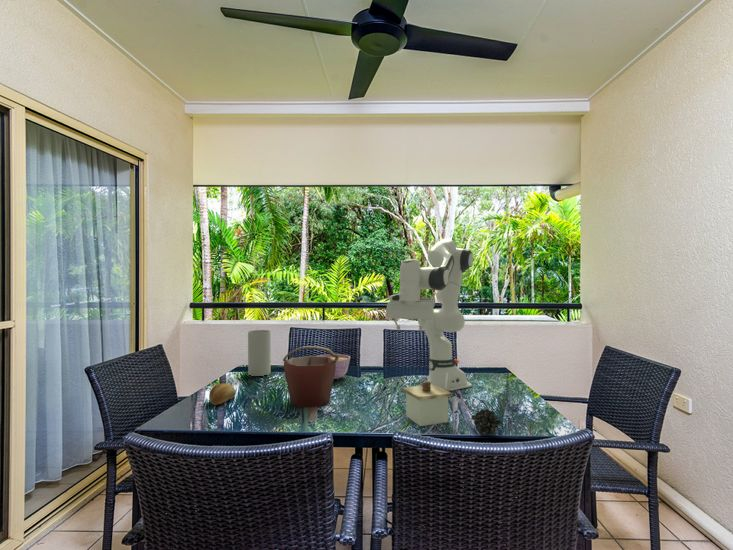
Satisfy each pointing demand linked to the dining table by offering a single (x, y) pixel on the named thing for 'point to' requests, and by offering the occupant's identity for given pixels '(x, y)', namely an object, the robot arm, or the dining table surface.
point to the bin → (427, 410)
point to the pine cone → (486, 421)
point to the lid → (426, 391)
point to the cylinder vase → (259, 353)
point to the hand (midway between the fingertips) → (409, 329)
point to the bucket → (310, 378)
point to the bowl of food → (340, 364)
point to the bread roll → (221, 393)
